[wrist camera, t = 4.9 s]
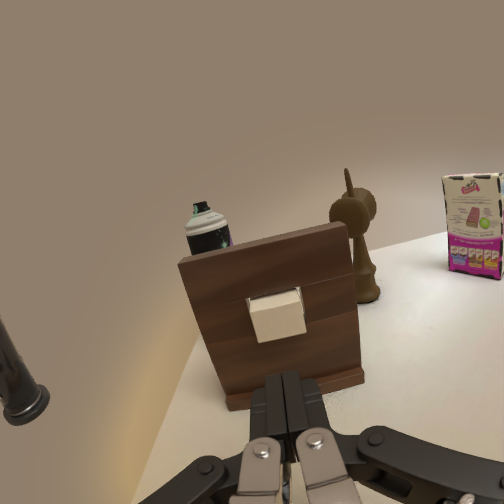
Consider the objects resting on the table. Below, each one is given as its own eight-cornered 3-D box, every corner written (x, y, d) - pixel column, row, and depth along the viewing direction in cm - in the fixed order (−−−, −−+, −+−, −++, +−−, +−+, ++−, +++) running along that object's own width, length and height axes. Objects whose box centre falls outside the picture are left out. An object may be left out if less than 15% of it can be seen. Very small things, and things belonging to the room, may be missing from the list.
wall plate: (364, 382, 24) (350, 226, 20) (229, 411, 25) (173, 267, 21) (344, 342, 32) (325, 213, 28) (234, 366, 33) (194, 244, 29)
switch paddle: (306, 332, 22) (300, 300, 21) (258, 343, 22) (249, 312, 21) (301, 316, 24) (295, 287, 24) (258, 326, 25) (250, 297, 24)
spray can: (218, 352, 37) (172, 210, 32) (224, 332, 42) (185, 205, 37) (257, 346, 36) (216, 198, 32) (258, 326, 42) (223, 195, 37)
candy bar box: (506, 269, 32) (504, 172, 28) (500, 280, 30) (499, 175, 26) (456, 260, 42) (449, 173, 38) (447, 270, 40) (440, 176, 36)
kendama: (385, 283, 44) (369, 163, 39) (380, 312, 36) (361, 166, 31) (353, 284, 47) (333, 169, 42) (340, 312, 39) (316, 174, 34)
